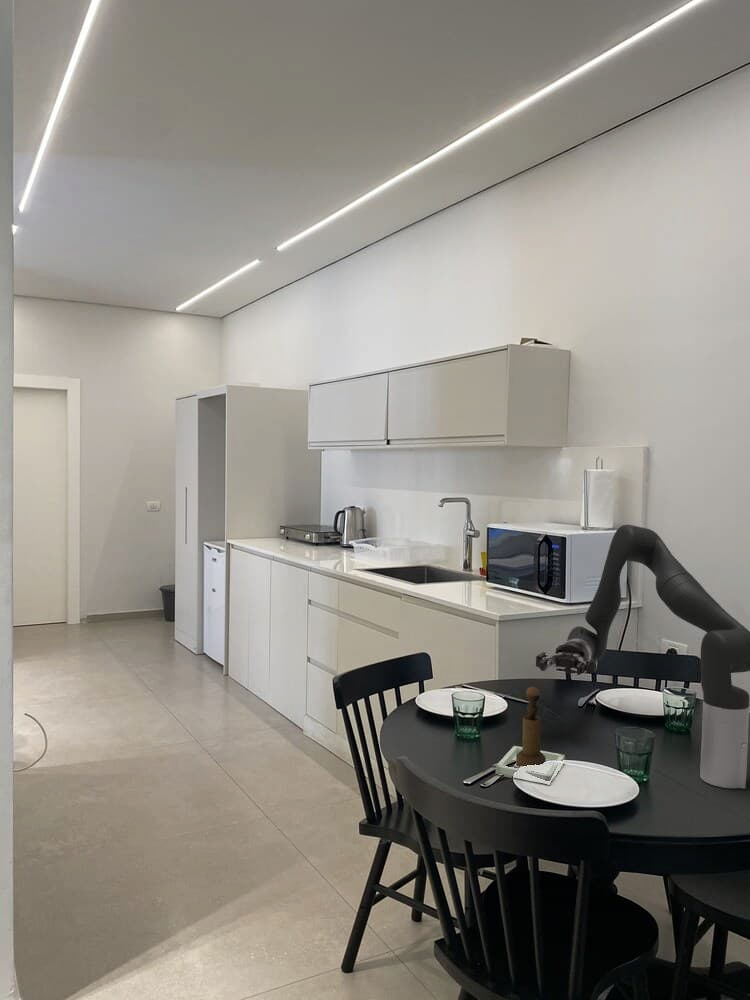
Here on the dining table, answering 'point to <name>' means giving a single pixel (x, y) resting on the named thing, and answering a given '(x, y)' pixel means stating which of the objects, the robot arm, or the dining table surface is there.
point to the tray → (509, 771)
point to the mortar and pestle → (531, 733)
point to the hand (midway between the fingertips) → (560, 668)
